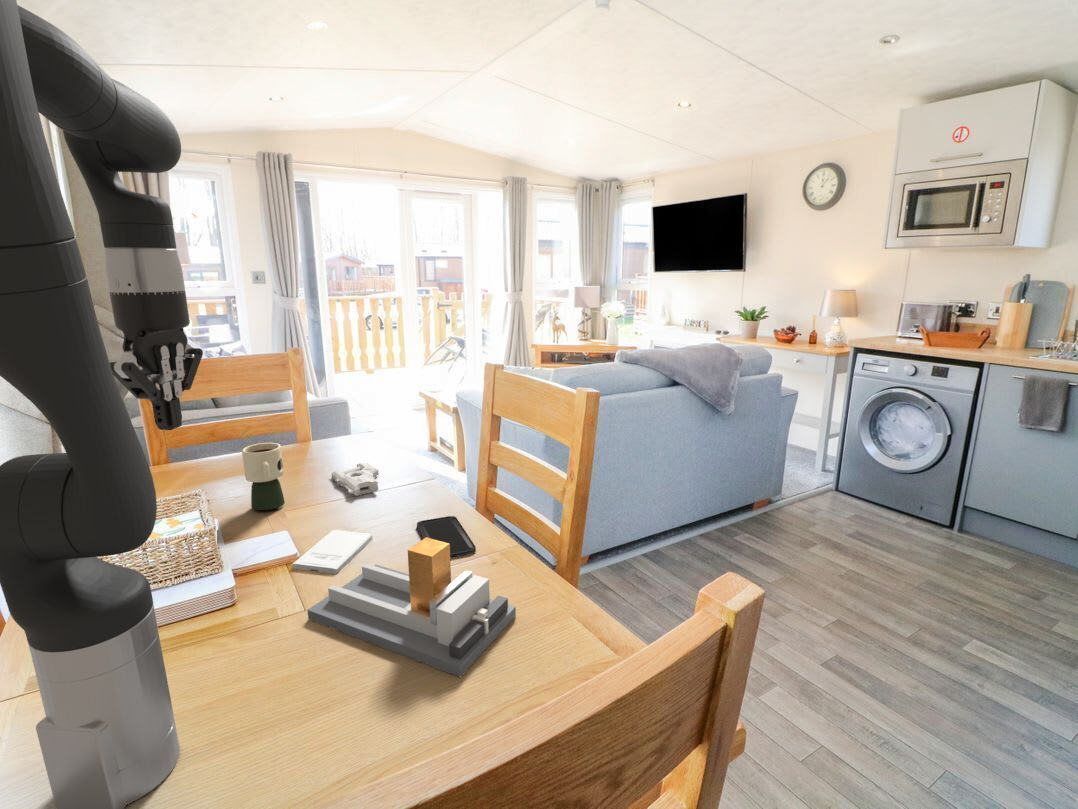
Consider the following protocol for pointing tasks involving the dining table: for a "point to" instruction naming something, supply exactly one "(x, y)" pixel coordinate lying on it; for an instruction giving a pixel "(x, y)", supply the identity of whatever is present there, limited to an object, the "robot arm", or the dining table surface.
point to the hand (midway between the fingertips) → (170, 428)
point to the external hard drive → (333, 551)
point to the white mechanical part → (358, 479)
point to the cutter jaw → (431, 577)
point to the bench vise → (416, 618)
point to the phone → (448, 534)
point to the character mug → (264, 474)
